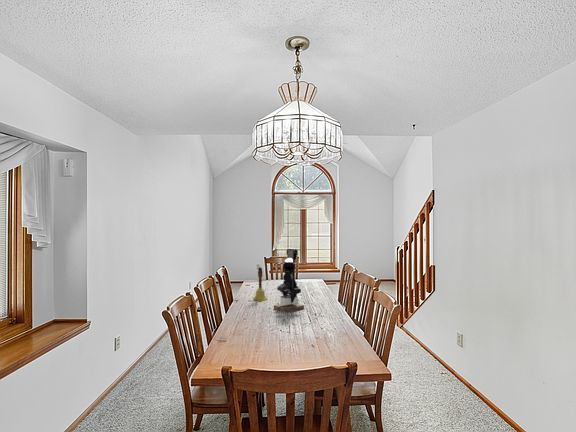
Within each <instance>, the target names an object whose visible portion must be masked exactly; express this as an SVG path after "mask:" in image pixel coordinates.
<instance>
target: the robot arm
mask: <svg viewBox="0 0 576 432" xmlns="http://www.w3.org/2000/svg"><path fill="white" fill-rule="evenodd" d="M298 255H299V251H298V249H295V247H288V248H287V249H286V259H284V262H283V265H282V272H283V273H284V274H283V276H282V278H283V281H282V283H281V284H280V285H278V286H277V291H279V292H280V293H281V294H282V296H286V295H291V303H293V301H294V299H295V297H296V296H297V297H298V294H301V292H302V290H301V288H299V286H298V283H297V281H296V260H297V258H298ZM297 302H299V300H298V299H297Z"/></svg>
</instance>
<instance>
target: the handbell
mask: <svg viewBox="0 0 576 432" xmlns="http://www.w3.org/2000/svg"><path fill="white" fill-rule="evenodd" d="M257 277H258V289H256V290H255V296H253V298H252V299H253V300H252V301H254V300H257V301H256V302H265V300H266V301H268V300H269V298H268V297H267V296H266V295H265V290H264V289H263V287H262V286H263V285H262V280H263V279H262V278H263V268H262V267H261V266H260V267H258V270H257Z"/></svg>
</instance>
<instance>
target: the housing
mask: <svg viewBox="0 0 576 432" xmlns="http://www.w3.org/2000/svg"><path fill="white" fill-rule="evenodd" d="M297 300H298V295H297V296H296V297H295V299H294V301H293V303H291V295H286V296H283V295H281V296H280V304H284V305H289V304H295V303H296V304H298V301H297Z"/></svg>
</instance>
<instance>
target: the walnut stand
mask: <svg viewBox="0 0 576 432" xmlns="http://www.w3.org/2000/svg"><path fill="white" fill-rule="evenodd" d="M304 309H305V304H301V303H300V304H299V303H295V304H289V305H284V304H281V303H280V304H274V305H273V310H277V311H280V312H283V313H292V312H296V311H300V310H304Z"/></svg>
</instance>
